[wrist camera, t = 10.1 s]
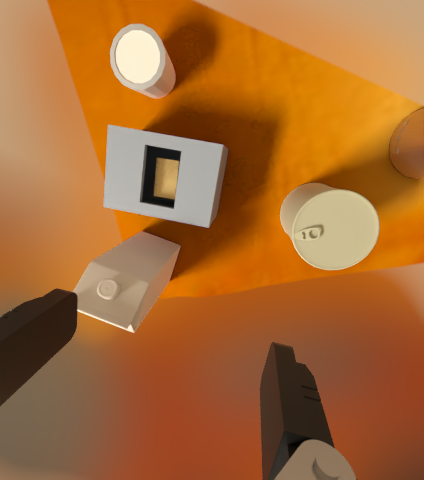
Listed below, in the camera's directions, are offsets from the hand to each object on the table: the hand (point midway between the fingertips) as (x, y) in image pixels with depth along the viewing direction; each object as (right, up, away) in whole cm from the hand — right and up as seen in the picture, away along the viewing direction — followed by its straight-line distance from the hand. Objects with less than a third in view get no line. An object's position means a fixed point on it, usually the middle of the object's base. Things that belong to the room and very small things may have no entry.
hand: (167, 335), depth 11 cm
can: (+17, +8, +30) cm, 35 cm away
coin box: (-3, +14, +30) cm, 34 cm away
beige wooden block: (-4, +13, +30) cm, 33 cm away
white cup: (-6, +27, +27) cm, 39 cm away
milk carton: (-8, +1, +35) cm, 36 cm away
